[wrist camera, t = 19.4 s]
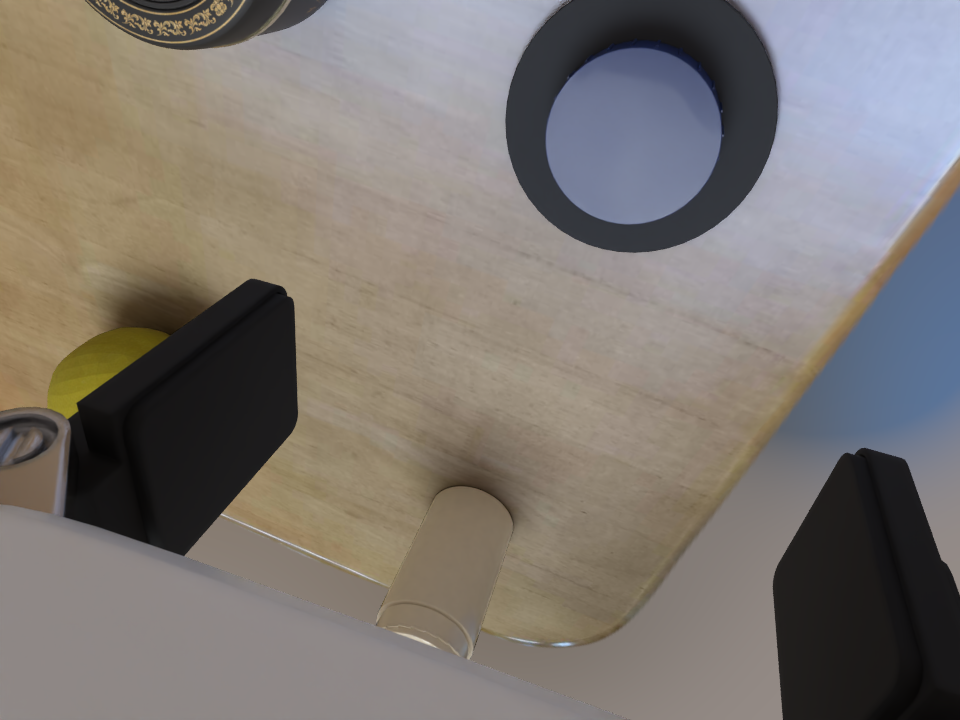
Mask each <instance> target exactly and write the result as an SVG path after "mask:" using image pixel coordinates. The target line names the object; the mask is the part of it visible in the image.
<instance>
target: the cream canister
mask: <svg viewBox="0 0 960 720" xmlns="http://www.w3.org/2000/svg"><path fill="white" fill-rule="evenodd" d="M512 533H513V522H512V518H511V516H510V514H509V512H508V510H507V509H506V508H505V506H504V505H503V504H502V503H501V502H500V501H499V500H497V499H496V498H495V497H493V496H492V495H490V494H488V493H486V492H484V491H482V490H479V489H476V488H472V487H466V486H456V487H450V488H447V489H445V490H443V491H441V492H440V493H438V494H437V495H436V496H435V498H434V499H433V501H432V503H431V505H430V507H429V509H428V511H427V513H426V515H425V517H424V519H423V521H422V523H421V526H420V528H419V530H418V532H417V534H416V536H415V538H414V540H413V542H412V544H411V546H410V548H409V550H408V552H407V554H406V556H405V558H404V560H403V562H402V564H401V566H400V568H399V570H398V572H397V574H396V576H395V579H394V581H393V583H392V585H391V587H390V589H389V591H388V593H387V595H386V597H385V599H384V601H383V603H382V605H381V607H380V609H379V611H378V614H377V624H376V626H378V627H381V628H383V629H386V630H389V631H392V632H394V633H397V634H400V635H403V636H405V637H408V638H411V639H413V640H416V641H419V642H422V643H424V644H427V645H430V646H433V647H435V648H438V649H441V650H443V651H446V652H449V653H452V654H454V655H457V656H460V657H463V658H465V659H468V660H469V659H470V658H471V656H472V654H473V651H474V648H475V645H476V642H477V639H478V636H479V633H480V630H481V627H482V624H483V621H484V618H485V615H486V612H487V609H488V606H489V603H490V600H491V597H492V594H493V591H494V588H495V585H496V582H497V579H498V576H499V573H500V570H501V567H502V564H503V561H504V558H505V554H506V551H507V548H508V545H509V542H510V539H511V536H512Z"/></svg>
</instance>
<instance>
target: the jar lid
mask: <svg viewBox="0 0 960 720" xmlns="http://www.w3.org/2000/svg"><path fill="white" fill-rule="evenodd" d="M567 79H568V80H567V81H566V83H565V84H564V86H563V87H562V88H561V90H560V91H559V93H558V94H557V95H556V96H555V97H554V99H555V100H554V102H553V105H552V107H551V110H550V113H549V116H548V118H547V125H546V133H545V147H546V156H547V160H548V164H549V167H550V170H551V172H552V175H553V177H554V179H555V181H556V183H557V185H558V186H559V188H560V189H561V190H562V192H563V193H564V195H565V196H566V197H567V198H568V199H569V200H570V201H571V202H572V203H573V204H575V205H576V206H577V207H578V208H579V209H581V210H582V211H584V212H586V213H587V214H589V215H591V216H593V217H595V218H598V219H600V220H604V221H607V222H611V223H616V224H628V225H631V224H643V223H648V222H652V221H656V220H659V219H662V218H664V217H666V216H669V215H671V214H673V213H674V212H676V211H678V210H679V209H681V208H682V207H684V206H685V205H686V204H687V203H689V202H690V201H691V200H692V199H693V198H694V197H695V196H696V195H697V194H698V193H699V192H700V191H701V189H702V188H703V187H704V185H705V184H706V183H707V182H708V180H709V178H710V176H711V174H712V172H713V170H714V168H715V165H716V163H717V161H719V153H720V149H721V142H722V137H724V125H722V114H721V113H723V105H722V102H720V101H719V98H718V94H717V91H716V89H715V81H714V80H713V81H712V80H711V79H710V77H709V76H708V74H707V72H706V71H705V70H704V69H703V68H702V66H701V62H700V61H699V62H697V61H696V60H694V59H693V58H692V57H691V56H690V55H688V54H687V53H685V52H683V48H680V49H678V48H676V47H674V46H671V45H668V44H665V43H661V40H658V41H657V42H656V41H649V40H637V38H636V39H634V40H633V41H629V42H623V43H620V44H617V45H614V43H613V44H611V45H610V46H609V47H608V48H606V49H604V50H602V51H600V52H599V53H597V54H596V55H594V56H593V55H590V56H589V57H588V58H587V59H586V60H585V63H584V64H583V65H582V66H581V67H580V68H579V69H578V70H577V71H575V70H574V71H573V72H572V73H571V74H570V75H569V76H568V77H567Z"/></svg>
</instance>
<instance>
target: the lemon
mask: <svg viewBox="0 0 960 720" xmlns="http://www.w3.org/2000/svg"><path fill="white" fill-rule="evenodd" d="M169 336H170V335H168V334H166V333H164V332H161V331H158V330H154V329H149V328H138V327H122V328H117V329H114V330H111V331H108V332H105V333H102V334H100V335H97V336H95V337H93V338H92V339H90V340H88V341H87V342H85V343H84V344H82V345H81V346H79V347H78V348H77V349H75V350H74V351H73V352H71V353H70V354H69V355H68V356H67V357H65V358H64V359H63V360H62V361H61V363H60V364H59V365H58V366H57V368H56V369H55V371H54V373H53V375H52V378H51V382H50V386H49V389H48V409H52V410H54V411H56V412H59V413H61V414H62V415H63V416H64V417H65V418H66V419H68V418H70V417H71V416H72V415H74V414H75V413H76V412H78V408H77V404H76V403H77V402H79V401H80V400H81V399H83V398H84V397H86V396H87V395H88V394H90V393H91V392H92V391H94V390H95V389H97V388H98V387H99V386H101V385H102V384H104V383H105V382H106V381H108V380H109V379H111V378H112V377H113V376H115V375H116V374H118V373H119V372H120V371H122V370H123V369H125V368H126V367H127V366H129V365H130V364H132V363H133V362H134V361H136V360H137V359H138V358H140V357H141V356H143V355H144V354H145V353H147V352H148V351H150V350H151V349H152V348H154V347H155V346H157V345H158V344H159V343H161V342H162V341H164V340H165V339H166V338H168V337H169Z"/></svg>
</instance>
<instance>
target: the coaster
mask: <svg viewBox="0 0 960 720" xmlns="http://www.w3.org/2000/svg"><path fill="white" fill-rule="evenodd" d="M636 38H637V40H649V41H656V42H657V41H658V40H661V43H665V44H668V45H671V46H674V47H676V48H678V49H680V48H683V52H685V53H687V54H688V55H690V56H691V57H692V58H693V59H694V60H696V61H697V62H699V61H700V62H701V66H702V68H703V69H704V70H705V71H706V72H707V74H708V76H709V77H710V79H711V80H712V81H713V80H714V81H715V89H716V91H717V94H718V98H719V101H720V102H722V105H723V113H721V114H722V125H724V137H722V142H721V149H720V153H719V161H717V163H716V165H715V168H714V170H713V172H712V174H711V176H710V178H709V180H708V182H707V183H706V184H705V185H704V187H703V188H702V189H701V191H700V192H699V193H698V194H697V195H696V196H695V197H694V198H693V199H692V200H691V201H690V202H689V203H687V204H686V205H685V206H684V207H682V208H681V209H679V210H678V211H676V212H674V213H673V214H671V215H669V216H666V217H664V218H662V219H659V220H656V221H652V222H648V223H643V224H631V225H628V224H616V223H611V222H607V221H604V220H600V219H598V218H595V217H593V216H591V215H589V214H587V213H586V212H584V211H582V210H581V209H579V208H578V207H577V206H576V205H575V204H573V203H572V202H571V201H570V200H569V199H568V198H567V197H566V196H565V195H564V193H563V192H562V190H561V189H560V188H559V186H558V185H557V183H556V181H555V179H554V177H553V175H552V172H551V170H550V167H549V164H548V160H547V156H546V147H545V133H546V125H547V118H548V116H549V113H550V110H551V107H552V105H553V102H554V100H555V99H554V97H555V96H556V95H557V94H558V93H559V91H560V90H561V88H562V87H563V86H564V84H565V83H566V81H567V80H568V79H567V77H568V76H569V75H570V74H571V73H572V72H573V71H574V70H575V71H577V70H578V69H579V68H580V67H581V66H582V65H583V64H584V63H585V60H586V59H587V58H588V57H589V56H590V55H593V56H594V55H596V54H597V53H599V52H600V51H602V50H604V49H606V48H608V47H609V46H610V45H611V44H613V43H614V45H617V44H620V43H623V42H629V41H633V40H634V39H636ZM777 109H778V99H777V90H776V81H775V77H774V74H773V70H772V66H771V62H770V60H769V58H768V55H767V53H766V51H765V48H764V46H763V44H762V42H761V41H760V39H759V37H758V36H757V34H756V32H755V31H754V29H753V28H752V26H751V25H750V24H749V23H748V22H747V21H746V19H745V18H744V17H743V16H742V15H741V14H740V13H739V12H738V11H737V10H736V9H735V8H734V7H732V6H731V5H730V4H729V3H728V2H727V1H725V0H573V1H571V2H570V3H569V4H567V5H566V6H564V7H563V8H561V9H560V10H559V11H558V12H557V13H556V14H555V15H554V16H553V17H551V18H550V19H549V20H548V21H547V22H546V23H545V24H544V26H543V27H542V28H541V29H540V30H539V32H538V33H537V34H536V35H535V36H534V38H533V39H532V41H531V43H530V44H529V46H528V47H527V49H526V50H525V52H524V54H523V56H522V58H521V60H520V62H519V64H518V66H517V68H516V71H515V74H514V77H513V80H512V83H511V86H510V91H509V96H508V100H507V109H506V139H507V145H508V151H509V155H510V159H511V162H512V165H513V169H514V171H515V173H516V176H517V178H518V180H519V183H520V185H521V186H522V188H523V190H524V191H525V193H526V195H527V196H528V198H529V199H530V201H531V202H532V203H533V204H534V206H535V207H536V208H537V210H538V211H539V212H540V213H541V214H542V215H543V216H544V217H545V218H546V219H547V220H548V221H550V222H551V223H552V224H553V225H555V226H556V227H557V228H559V229H560V230H561V231H563V232H564V233H566V234H568V235H569V236H571V237H573V238H575V239H577V240H579V241H581V242H584V243H586V244H588V245H591V246H595V247H598V248H601V249H606V250H612V251H617V252H633V253H636V252H650V251H656V250H661V249H667V248H670V247H673V246H676V245H679V244H683V243H685V242H687V241H689V240H692V239H694V238H696V237H698V236H700V235H702V234H703V233H705V232H707V231H708V230H710V229H712V228H713V227H715V226H716V225H717V224H718V223H720V222H721V221H722V220H724V219H725V218H726V217H727V216H728V215H729V214H730V213H731V212H732V211H733V210H734V209H735V208H736V207H737V206H738V205H740V203H741V202H742V201H743V200H744V198H745V197H746V196H747V195H748V193H749V192H750V191H751V189H752V188H753V186H754V185H755V183H756V181H757V180H758V178H759V176H760V175H761V173H762V171H763V168H764V166H765V164H766V162H767V159H768V157H769V154H770V151H771V147H772V144H773V141H774V136H775V130H776V124H777Z"/></svg>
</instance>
